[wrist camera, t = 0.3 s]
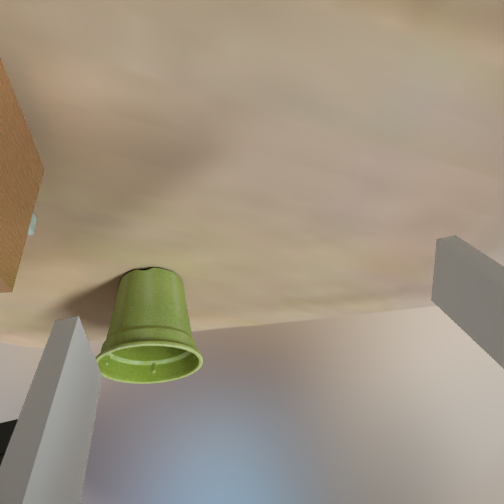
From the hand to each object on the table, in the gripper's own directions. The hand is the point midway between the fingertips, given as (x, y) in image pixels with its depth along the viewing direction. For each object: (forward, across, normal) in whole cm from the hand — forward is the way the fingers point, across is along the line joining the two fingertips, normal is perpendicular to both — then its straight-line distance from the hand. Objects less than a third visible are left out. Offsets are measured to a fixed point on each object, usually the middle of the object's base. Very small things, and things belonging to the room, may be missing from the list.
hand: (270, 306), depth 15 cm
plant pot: (+25, -8, -12) cm, 29 cm away
